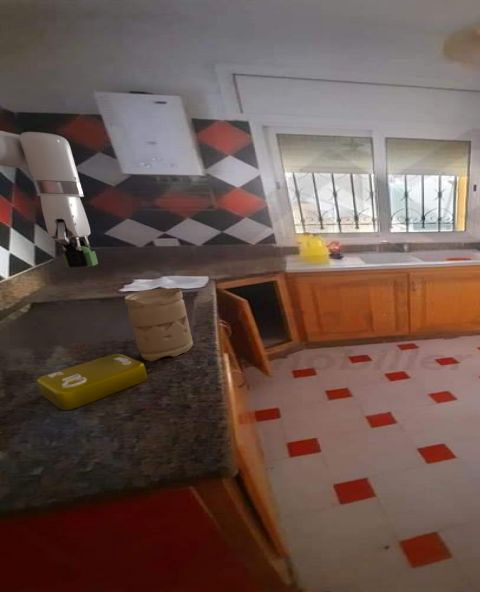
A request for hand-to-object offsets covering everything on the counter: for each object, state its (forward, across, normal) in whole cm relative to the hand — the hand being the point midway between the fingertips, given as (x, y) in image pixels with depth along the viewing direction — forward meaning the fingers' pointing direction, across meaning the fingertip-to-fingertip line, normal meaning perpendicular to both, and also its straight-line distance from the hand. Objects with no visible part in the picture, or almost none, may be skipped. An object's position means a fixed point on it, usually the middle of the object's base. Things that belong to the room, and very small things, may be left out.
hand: (82, 264), depth 81 cm
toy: (0, 0, 0) cm, 0 cm away
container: (+28, 0, +13) cm, 30 cm away
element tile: (+28, +16, +1) cm, 32 cm away
